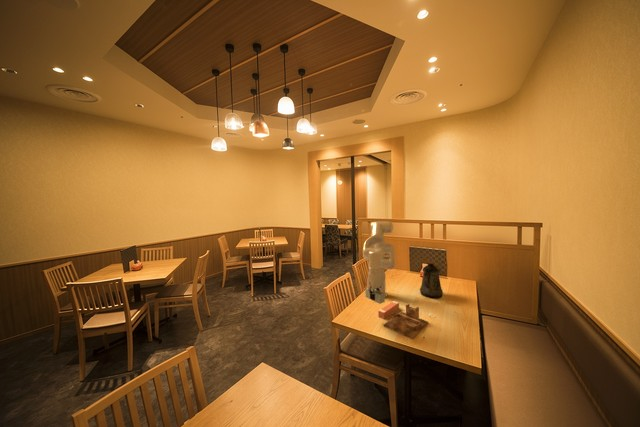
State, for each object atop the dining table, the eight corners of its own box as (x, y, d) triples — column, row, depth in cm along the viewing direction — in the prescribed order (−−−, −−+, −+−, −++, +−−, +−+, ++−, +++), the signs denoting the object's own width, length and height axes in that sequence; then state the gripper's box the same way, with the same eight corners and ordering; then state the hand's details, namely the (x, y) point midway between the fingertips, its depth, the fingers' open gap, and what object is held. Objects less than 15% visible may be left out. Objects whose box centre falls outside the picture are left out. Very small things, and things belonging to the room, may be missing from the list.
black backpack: (440, 291, 183) (441, 262, 181) (445, 302, 165) (445, 269, 163) (419, 289, 189) (419, 260, 187) (421, 299, 170) (421, 267, 169)
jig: (383, 326, 135) (383, 312, 135) (400, 313, 150) (400, 300, 150) (412, 339, 122) (412, 323, 122) (428, 323, 137) (428, 309, 137)
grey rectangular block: (365, 296, 144) (365, 288, 144) (370, 295, 147) (370, 286, 146) (379, 303, 134) (379, 294, 134) (384, 301, 137) (384, 292, 136)
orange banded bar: (378, 317, 146) (378, 310, 146) (393, 307, 160) (393, 300, 159) (383, 319, 143) (383, 312, 143) (398, 308, 157) (398, 302, 156)
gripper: (377, 266, 148) (377, 292, 149) (361, 272, 137) (362, 300, 138) (387, 268, 142) (387, 295, 143) (371, 275, 131) (372, 304, 132)
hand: (375, 297), depth 141 cm, fingers closed on grey rectangular block, 5 cm apart
